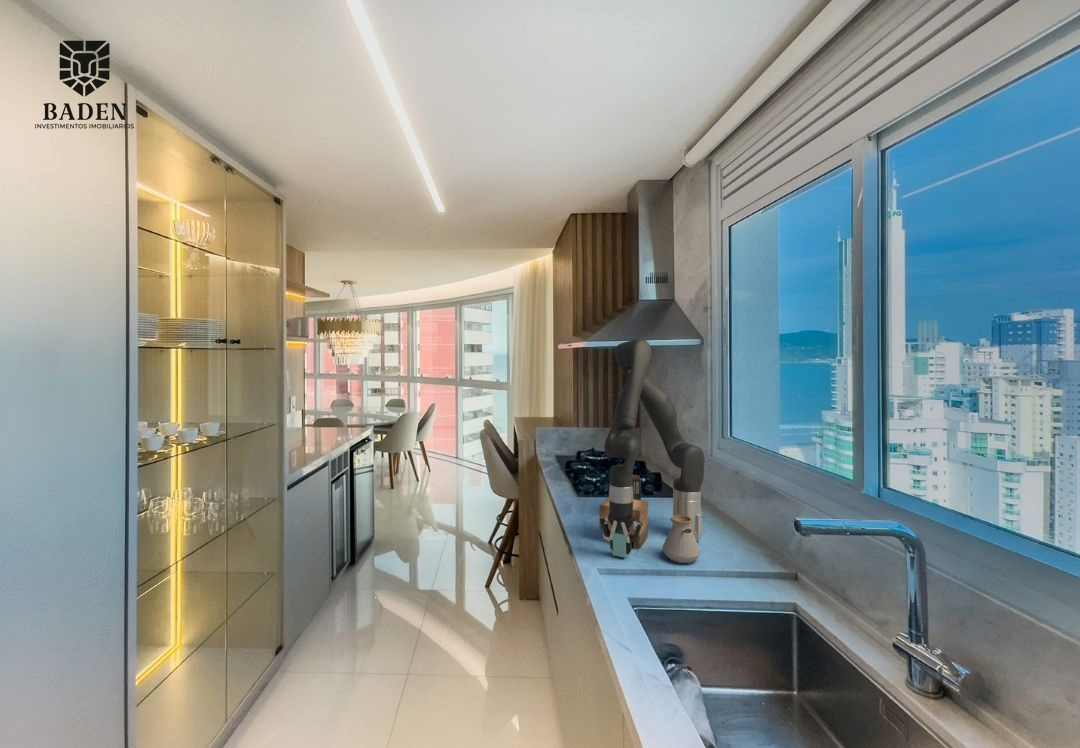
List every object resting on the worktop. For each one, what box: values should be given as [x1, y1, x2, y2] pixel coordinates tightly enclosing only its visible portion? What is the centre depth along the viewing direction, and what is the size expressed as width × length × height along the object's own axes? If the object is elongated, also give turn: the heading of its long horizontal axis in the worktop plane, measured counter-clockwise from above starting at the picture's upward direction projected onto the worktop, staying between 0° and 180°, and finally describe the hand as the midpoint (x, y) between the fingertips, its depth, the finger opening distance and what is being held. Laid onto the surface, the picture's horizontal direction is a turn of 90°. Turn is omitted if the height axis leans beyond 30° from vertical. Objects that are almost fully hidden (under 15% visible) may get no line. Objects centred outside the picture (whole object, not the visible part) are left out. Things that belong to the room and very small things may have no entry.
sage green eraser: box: [612, 531, 634, 558], centre depth 150 cm, size 4×16×7 cm, turn 153°
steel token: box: [602, 531, 611, 544], centre depth 158 cm, size 5×5×2 cm
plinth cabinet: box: [598, 496, 649, 550], centre depth 158 cm, size 14×11×13 cm
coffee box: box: [632, 474, 642, 501], centre depth 181 cm, size 9×6×16 cm
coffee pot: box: [662, 515, 701, 564], centre depth 138 cm, size 21×12×15 cm, turn 172°
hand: (620, 551), depth 145 cm, fingers closed on sage green eraser, 4 cm apart
